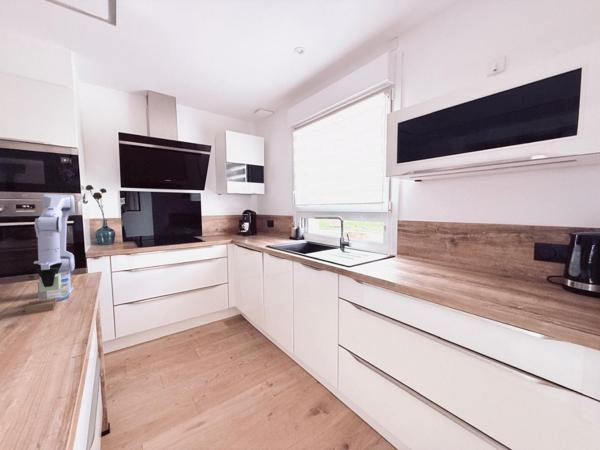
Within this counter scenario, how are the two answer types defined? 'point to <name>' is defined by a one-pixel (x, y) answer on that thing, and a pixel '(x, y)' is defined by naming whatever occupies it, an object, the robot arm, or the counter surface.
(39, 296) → the medicine box
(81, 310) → the counter surface
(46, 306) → the walnut block
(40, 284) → the sage cube
